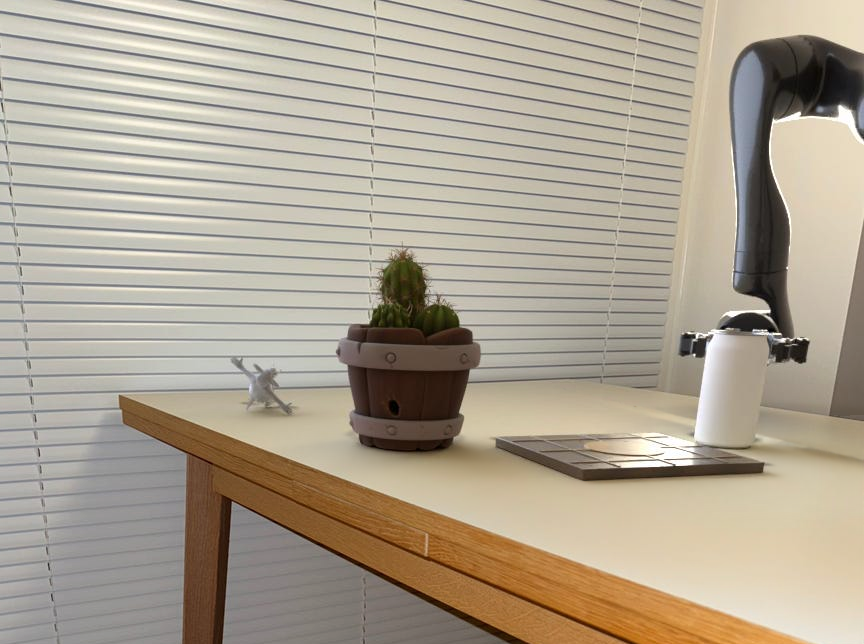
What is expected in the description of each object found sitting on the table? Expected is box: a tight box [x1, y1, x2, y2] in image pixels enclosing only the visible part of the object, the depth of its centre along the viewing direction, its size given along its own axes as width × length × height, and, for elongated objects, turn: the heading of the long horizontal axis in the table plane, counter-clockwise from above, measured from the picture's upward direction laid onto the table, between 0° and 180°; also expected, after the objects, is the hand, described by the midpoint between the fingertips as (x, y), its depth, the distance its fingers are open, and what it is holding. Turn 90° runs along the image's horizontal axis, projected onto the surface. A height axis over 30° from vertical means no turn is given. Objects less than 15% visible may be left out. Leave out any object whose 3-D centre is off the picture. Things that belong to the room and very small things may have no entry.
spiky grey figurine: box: [230, 355, 294, 415], centre depth 121 cm, size 10×6×9 cm
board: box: [494, 432, 765, 481], centre depth 97 cm, size 20×18×1 cm
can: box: [693, 331, 769, 450], centre depth 106 cm, size 6×6×12 cm
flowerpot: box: [335, 242, 482, 451], centre depth 98 cm, size 14×15×20 cm
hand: (739, 350), depth 107 cm, fingers open, 8 cm apart
